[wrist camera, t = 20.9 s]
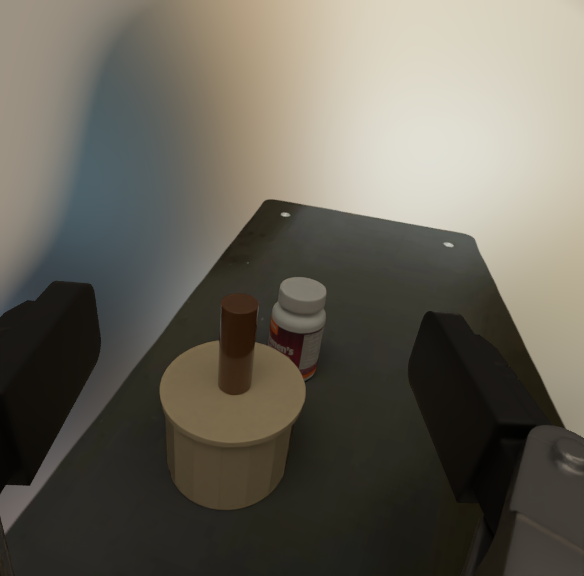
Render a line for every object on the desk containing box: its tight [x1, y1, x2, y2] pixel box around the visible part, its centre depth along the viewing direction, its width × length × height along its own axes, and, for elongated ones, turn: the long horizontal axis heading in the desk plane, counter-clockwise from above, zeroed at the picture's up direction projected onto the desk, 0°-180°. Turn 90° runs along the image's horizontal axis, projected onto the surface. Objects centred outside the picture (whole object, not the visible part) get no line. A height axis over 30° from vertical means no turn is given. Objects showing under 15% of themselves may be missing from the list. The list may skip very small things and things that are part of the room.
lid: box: [160, 293, 306, 448], centre depth 34 cm, size 12×12×9 cm
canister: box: [165, 415, 294, 510], centre depth 38 cm, size 11×11×8 cm
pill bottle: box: [268, 277, 326, 381], centre depth 49 cm, size 6×6×11 cm
